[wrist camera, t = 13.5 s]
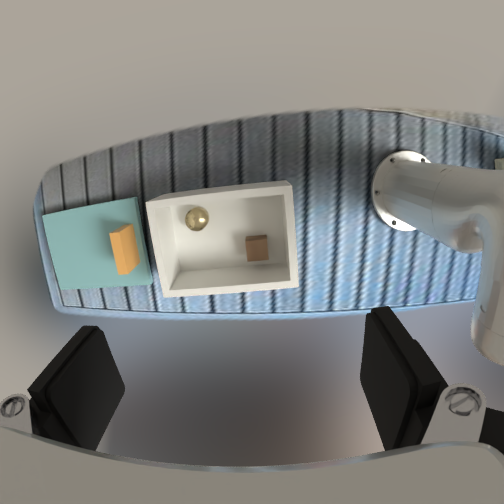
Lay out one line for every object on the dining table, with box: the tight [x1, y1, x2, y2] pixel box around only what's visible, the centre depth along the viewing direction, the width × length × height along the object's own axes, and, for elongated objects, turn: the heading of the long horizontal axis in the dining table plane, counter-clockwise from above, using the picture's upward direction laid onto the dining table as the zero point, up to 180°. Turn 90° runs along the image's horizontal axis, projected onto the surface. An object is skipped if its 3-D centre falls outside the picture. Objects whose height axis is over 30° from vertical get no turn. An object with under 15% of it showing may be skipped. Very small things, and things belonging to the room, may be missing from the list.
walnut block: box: [245, 235, 269, 262], centre depth 44 cm, size 3×3×2 cm
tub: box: [146, 180, 299, 297], centre depth 42 cm, size 18×13×8 cm
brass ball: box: [185, 207, 209, 231], centre depth 43 cm, size 3×3×2 cm
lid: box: [42, 197, 153, 290], centre depth 43 cm, size 19×14×8 cm
